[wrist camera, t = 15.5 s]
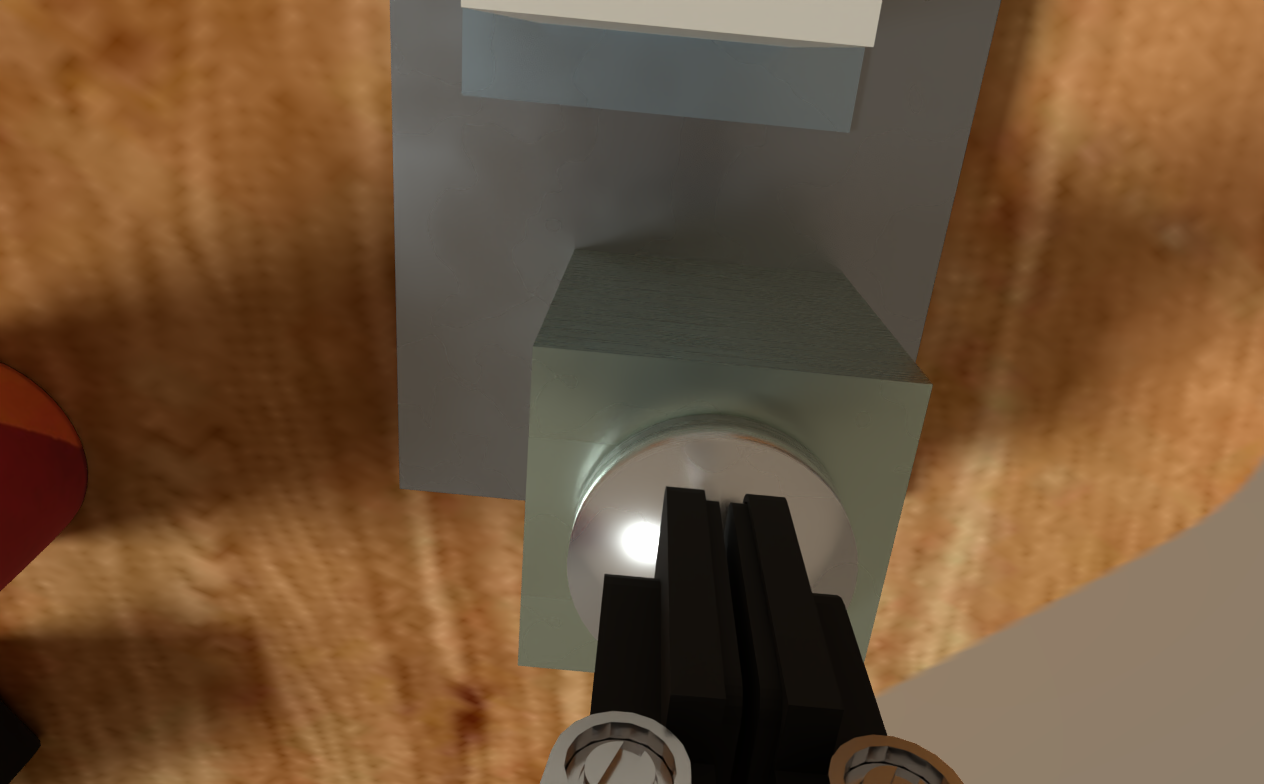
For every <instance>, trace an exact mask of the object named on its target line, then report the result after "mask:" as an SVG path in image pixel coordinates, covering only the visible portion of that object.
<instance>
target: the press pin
mask: <svg viewBox="0 0 1264 784" xmlns="http://www.w3.org/2000/svg"><path fill="white" fill-rule="evenodd" d="M666 486H670V487H681V488H691V489H702V490H705V495H706V500H710V501H719V504H720V511H721V519H722V527H723V535H724V531H725V525H726V519H727V512H728V507H729V504H730V502H732V503H743V499H744V496H745V495H746V494H756V495H767V496H777V497H785V498H786V500H787V502H788V506H789V510H790V513H791V517H792V521H793V524H794V528H795V531H796V535H797V539H798V542H799V546H800V550H801V553H802V557H803V561H804V564H805V568H806V572H807V575H808V579H809V583H810V586H811V590H812V593H820V594H831V595H838V596H840V597H841V598H842V600H843V602H844V604H845V607H846V610H847V609H848V607H849V605H850V603H851V600H852V597H853V593H854V590H855V587H856V581H857V574H858V552H857V546H856V540H855V536H854V533H853V530H852V527H851V524H850V522H849V519H848V516H847V514H846V511H845V509H844V506H843V504H842V501H841V499H840V496H839V494H838V491H837V489H836V487H835V485H834V483H833V481H832V479H831V477H830V475H829V474H828V472H827V471H826V470H825V468H824V467H823V465H822V464H821V463H820V461H819V460H818V459H817V458H816V457H815V456H814V455H813V454H812V453H811V452H810V451H809V450H808V449H807V448H806V447H804V446H803V445H802V444H800V443H799V442H798V441H797V440H795V439H794V438H792V437H791V436H789V435H787V434H785V433H784V432H782V431H780V430H779V429H776V428H774V427H771V426H769V425H767V424H764V423H762V422H758V421H755V420H751V419H748V418H744V417H738V416H732V415H723V414H700V415H688V416H684V417H679V418H674V419H669V420H666V421H663V422H660V423H657V424H654V425H652V426H650V427H648V428H645V429H643V430H641V431H639V432H637V433H635V434H634V435H632V436H631V437H629V438H628V439H626V440H624V441H623V442H621V443H620V444H619V445H618V446H617V447H615V448H614V449H613V450H612V451H611V452H609V453H608V454H607V455H606V456H605V458H604V459H603V460H602V461H601V462H600V463H599V464H598V465H597V466H596V468H595V469H594V471H593V472H592V474H591V475H590V477H589V478H588V480H587V482H586V484H585V486H584V488H583V490H582V492H581V494H580V497H579V501H578V504H577V507H576V511H575V516H574V522H573V527H572V532H571V538H570V543H569V550H568V557H567V577H568V584H569V590H570V593H571V597H572V600H573V603H574V606H575V608H576V610H577V612H578V614H579V616H580V618H581V620H582V622H583V623H584V625H585V626H586V627H587V629H588V630H589V632H590V633H591V635H592V636H593V637H594V638H595V639H596V640H597V641H598V632H599V622H600V612H601V602H602V592H603V582H604V574H613V575H624V576H635V577H646V578H654V575H655V566H656V558H657V550H658V542H659V533H660V525H661V517H662V509H663V500H664V493H665V488H666Z"/></svg>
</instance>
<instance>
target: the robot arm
mask: <svg viewBox="0 0 1264 784" xmlns="http://www.w3.org/2000/svg"><path fill="white" fill-rule="evenodd" d="M540 784H964V783H963V782H962V781H961V779H960V778H959V777H958V775H957V774H956V773H955V772H954V770H953V769H952V768H950V767H949V766H948V765H947V764H946V763H945V762H943V761H942V760H941V759H940V758H939V757H938V756H936V755H935V754H933V753H931V752H930V751H928V750H926V749H924V748H922V747H921V746H919V745H917V744H915V743H912V742H909V741H906V740H903V739H900V738H896V737H893V736H887V733H886V730H885V727H884V724H883V721H882V718H881V715H880V711H879V708H878V705H877V702H876V699H875V696H874V693H873V690H872V687H871V684H870V681H869V678H868V674H867V671H866V668H865V665H864V662H863V659H862V656H861V653H860V650H859V647H858V644H857V641H856V637H855V634H854V631H853V628H852V625H851V622H850V619H849V616H848V613H847V610H846V607H845V604H844V602H843V600H842V598H841V597H840V596H838V595H831V594H820V593H812V590H811V586H810V583H809V579H808V575H807V572H806V568H805V564H804V561H803V557H802V553H801V550H800V546H799V542H798V539H797V535H796V531H795V528H794V524H793V521H792V517H791V513H790V510H789V506H788V502H787V500H786V498H785V497H777V496H767V495H756V494H746V495H745V496H744V499H743V503H732V502H730V504H729V507H728V512H727V519H726V525H725V531H724V535H723V527H722V519H721V511H720V504H719V501H710V500H706V495H705V490H702V489H691V488H681V487H670V486H666V488H665V493H664V500H663V509H662V517H661V525H660V533H659V542H658V550H657V558H656V566H655V575H654V578H646V577H635V576H624V575H613V574H604V582H603V592H602V602H601V612H600V622H599V632H598V642H597V652H596V662H595V672H594V682H593V692H592V702H591V712H590V716H587V717H585V718H583V719H581V720H578V721H576V722H574V723H573V724H572V725H571V726H570V727H568V728H567V729H566V730H565V731H564V732H563V733H561V734H560V736H559V738H558V740H557V741H556V743H555V745H554V747H553V748H552V750H551V753H550V756H549V759H548V762H547V765H546V768H545V770H544V773H543V776H542V779H541V782H540Z"/></svg>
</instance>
